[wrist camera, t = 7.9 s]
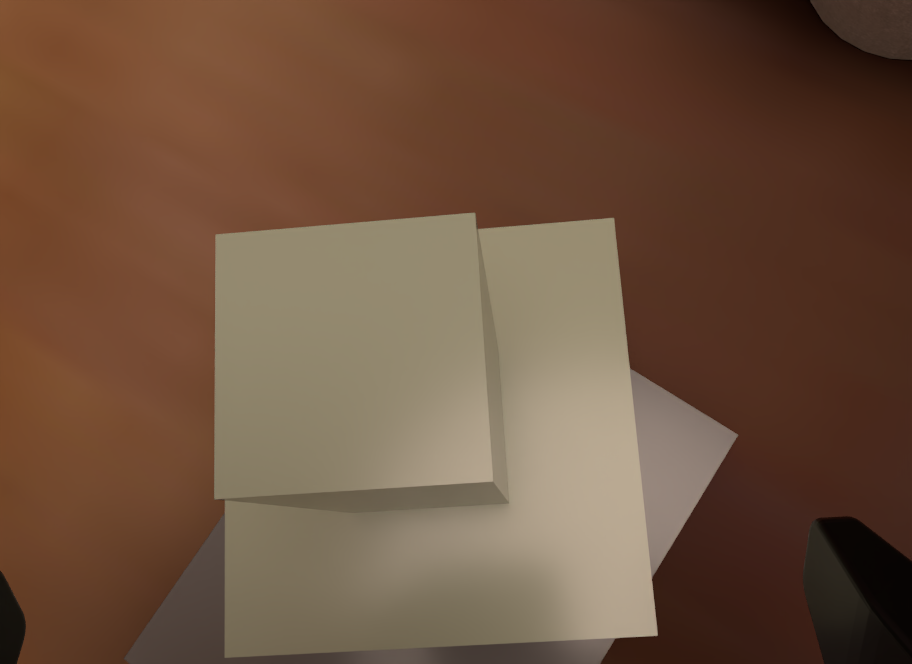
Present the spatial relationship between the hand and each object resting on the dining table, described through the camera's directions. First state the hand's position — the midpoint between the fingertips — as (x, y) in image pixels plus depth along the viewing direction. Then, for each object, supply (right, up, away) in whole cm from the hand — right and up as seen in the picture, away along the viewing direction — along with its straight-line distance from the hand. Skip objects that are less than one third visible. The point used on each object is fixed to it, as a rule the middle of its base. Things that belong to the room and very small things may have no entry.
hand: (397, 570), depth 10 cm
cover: (+1, 0, +11) cm, 11 cm away
